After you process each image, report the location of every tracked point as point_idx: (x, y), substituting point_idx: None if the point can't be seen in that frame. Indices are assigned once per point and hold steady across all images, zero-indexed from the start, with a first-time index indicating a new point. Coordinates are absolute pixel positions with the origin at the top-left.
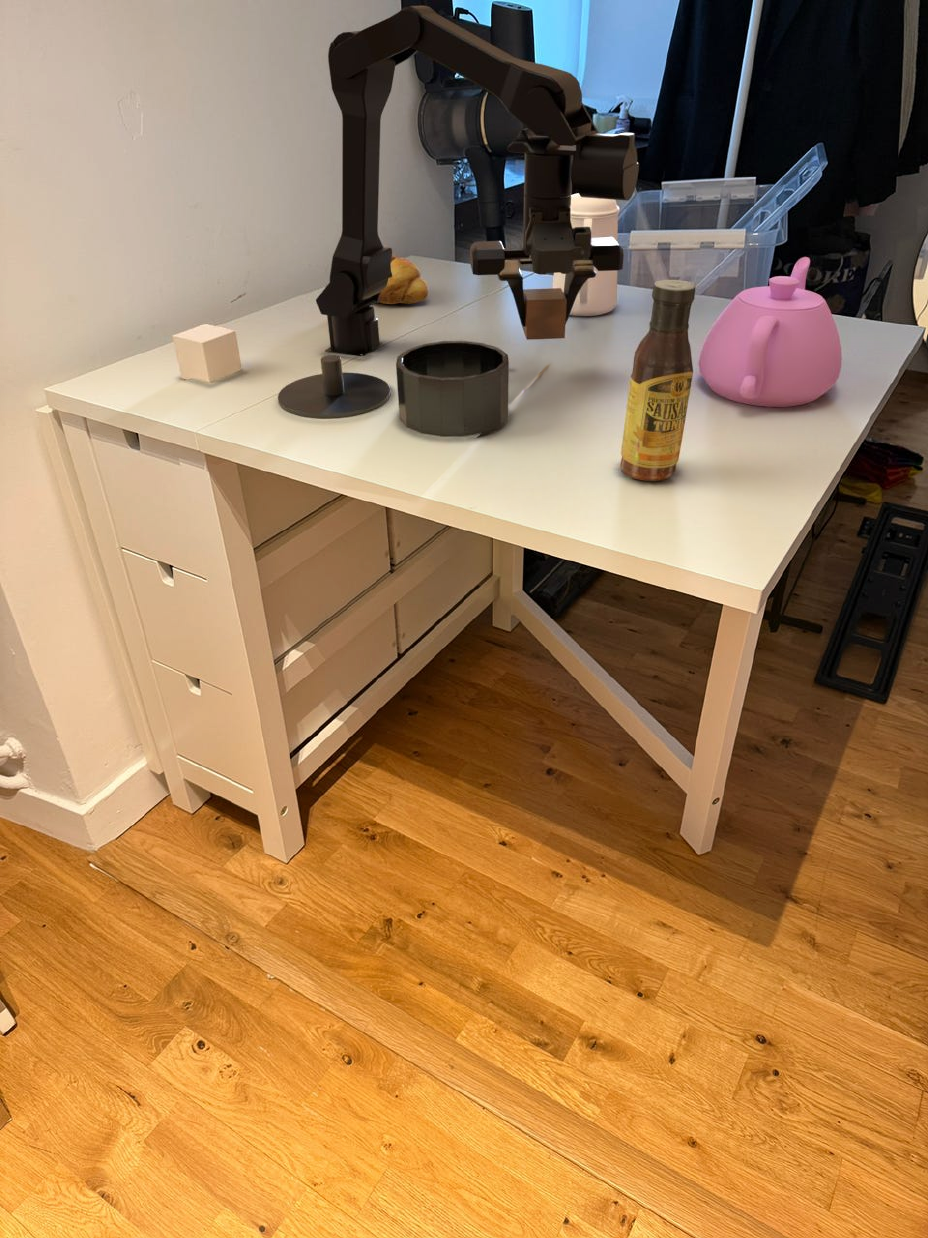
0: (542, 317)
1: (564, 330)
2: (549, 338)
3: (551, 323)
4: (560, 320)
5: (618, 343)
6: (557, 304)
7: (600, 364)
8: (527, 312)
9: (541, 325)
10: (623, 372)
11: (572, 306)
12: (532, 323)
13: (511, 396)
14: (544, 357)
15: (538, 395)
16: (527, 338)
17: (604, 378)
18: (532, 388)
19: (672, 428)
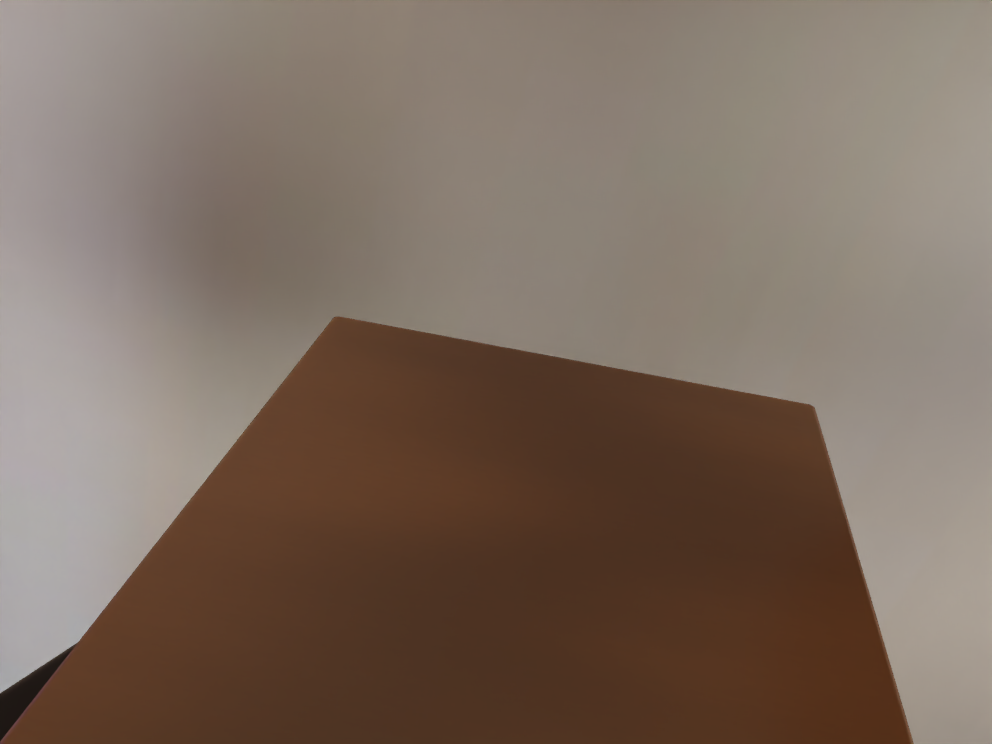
0: (596, 563)
1: (305, 363)
2: (519, 350)
3: (460, 462)
4: (312, 457)
5: (69, 627)
6: (256, 687)
7: (168, 428)
8: (899, 709)
9: (619, 472)
10: (38, 278)
11: (48, 663)
12: (767, 527)
13: (952, 39)
14: None
15: (711, 3)
16: (807, 407)
17: (157, 215)
18: (702, 171)
19: None
